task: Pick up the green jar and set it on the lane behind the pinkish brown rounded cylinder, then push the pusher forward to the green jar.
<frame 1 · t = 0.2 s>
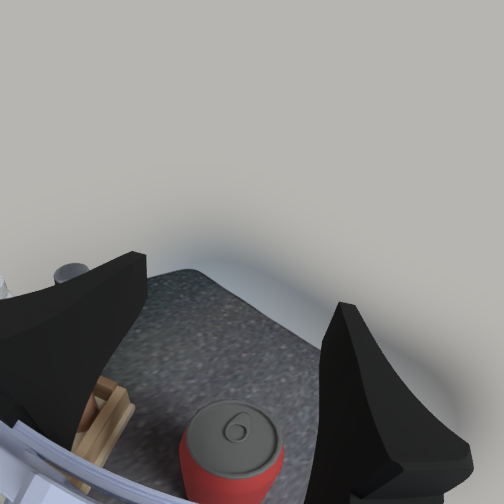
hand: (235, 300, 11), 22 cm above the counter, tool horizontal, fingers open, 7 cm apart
lane: (45, 466, 19), on the counter
supplement bottle 2: (91, 351, 34), on the counter
pinkish brown rounded cylinder: (77, 412, 25), point 1 cm above the counter, touching lane
beer can: (224, 492, 22), on the counter
supplement bottle: (15, 347, 31), on the counter
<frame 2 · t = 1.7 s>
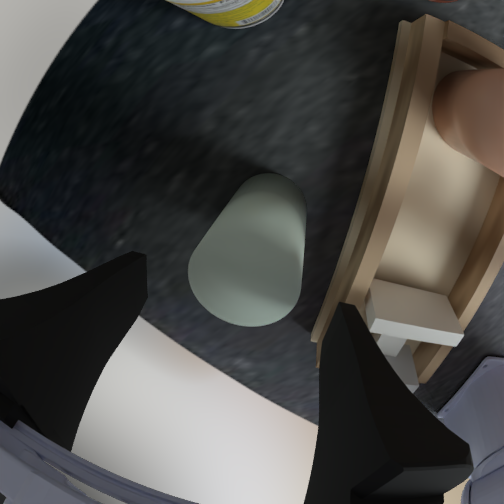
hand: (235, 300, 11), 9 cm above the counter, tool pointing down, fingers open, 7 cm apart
lane: (430, 219, 17), on the counter
pinkish brown rounded cylinder: (469, 112, 13), point 1 cm above the counter, touching lane
pusher: (394, 343, 19), point 3 cm above the counter, slide at 0.0 cm
green jar: (269, 209, 19), on the counter
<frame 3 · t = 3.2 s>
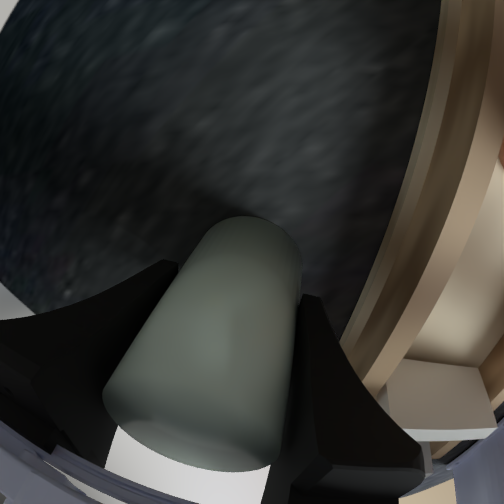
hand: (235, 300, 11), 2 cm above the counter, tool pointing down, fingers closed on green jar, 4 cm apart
lane: (471, 278, 12), on the counter
pusher: (409, 430, 13), point 3 cm above the counter, slide at 0.0 cm
green jar: (248, 265, 13), on the counter, touching gripper
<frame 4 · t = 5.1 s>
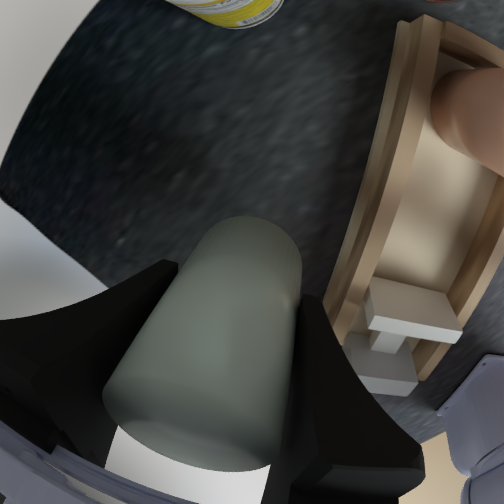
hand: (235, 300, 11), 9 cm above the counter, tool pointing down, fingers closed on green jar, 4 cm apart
lane: (428, 217, 18), on the counter
pinkish brown rounded cylinder: (467, 111, 13), point 1 cm above the counter, touching lane
pusher: (393, 340, 19), point 3 cm above the counter, slide at 0.0 cm
green jar: (248, 265, 13), point 7 cm above the counter, touching gripper
when the fingers open (4 cm above the counter, at t = 7.5 s): green jar drops 1 cm, resting on lane.
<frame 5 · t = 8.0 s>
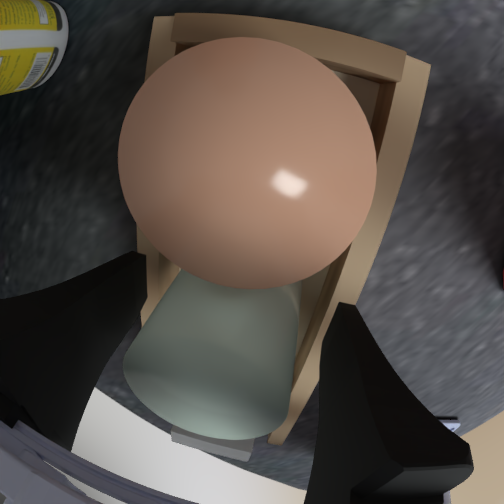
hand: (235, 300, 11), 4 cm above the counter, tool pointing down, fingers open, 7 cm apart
lane: (251, 272, 16), on the counter
pinkish brown rounded cylinder: (277, 129, 12), point 1 cm above the counter, touching lane
pusher: (220, 404, 17), point 3 cm above the counter, slide at 0.0 cm
supplement bottle: (41, 44, 12), on the counter
green jar: (254, 252, 14), point 1 cm above the counter, touching lane
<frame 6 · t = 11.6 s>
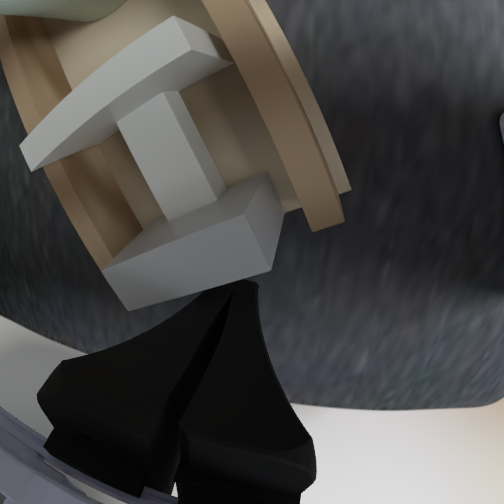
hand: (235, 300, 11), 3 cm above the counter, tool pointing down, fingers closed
lane: (122, 3, 9), on the counter
pusher: (161, 171, 9), point 3 cm above the counter, slide at 0.1 cm, touching gripper
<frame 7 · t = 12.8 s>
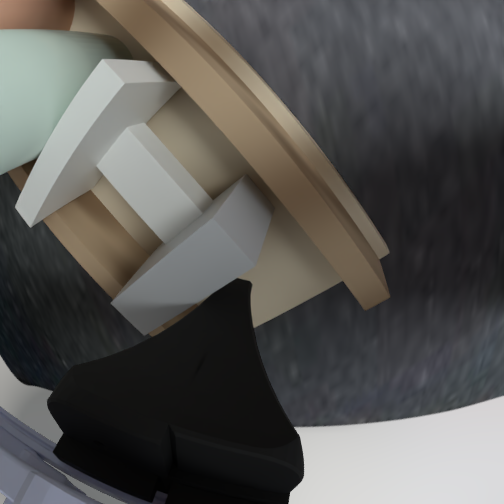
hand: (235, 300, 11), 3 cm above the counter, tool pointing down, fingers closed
lane: (126, 112, 12), on the counter
pinkish brown rounded cylinder: (37, 23, 9), point 1 cm above the counter, touching lane
pusher: (144, 199, 10), point 3 cm above the counter, slide at 4.1 cm, touching green jar, gripper
green jar: (91, 85, 10), point 1 cm above the counter, touching lane, pusher
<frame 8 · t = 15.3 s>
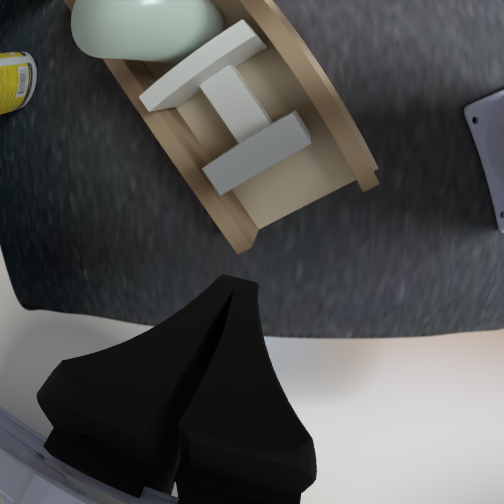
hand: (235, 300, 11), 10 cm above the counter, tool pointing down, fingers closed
lane: (211, 55, 16), on the counter
pusher: (235, 109, 15), point 3 cm above the counter, slide at 3.6 cm
supplement bottle: (21, 80, 19), on the counter
green jar: (190, 31, 15), point 1 cm above the counter, touching lane
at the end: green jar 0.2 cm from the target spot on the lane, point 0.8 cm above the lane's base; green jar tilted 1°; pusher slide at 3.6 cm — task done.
